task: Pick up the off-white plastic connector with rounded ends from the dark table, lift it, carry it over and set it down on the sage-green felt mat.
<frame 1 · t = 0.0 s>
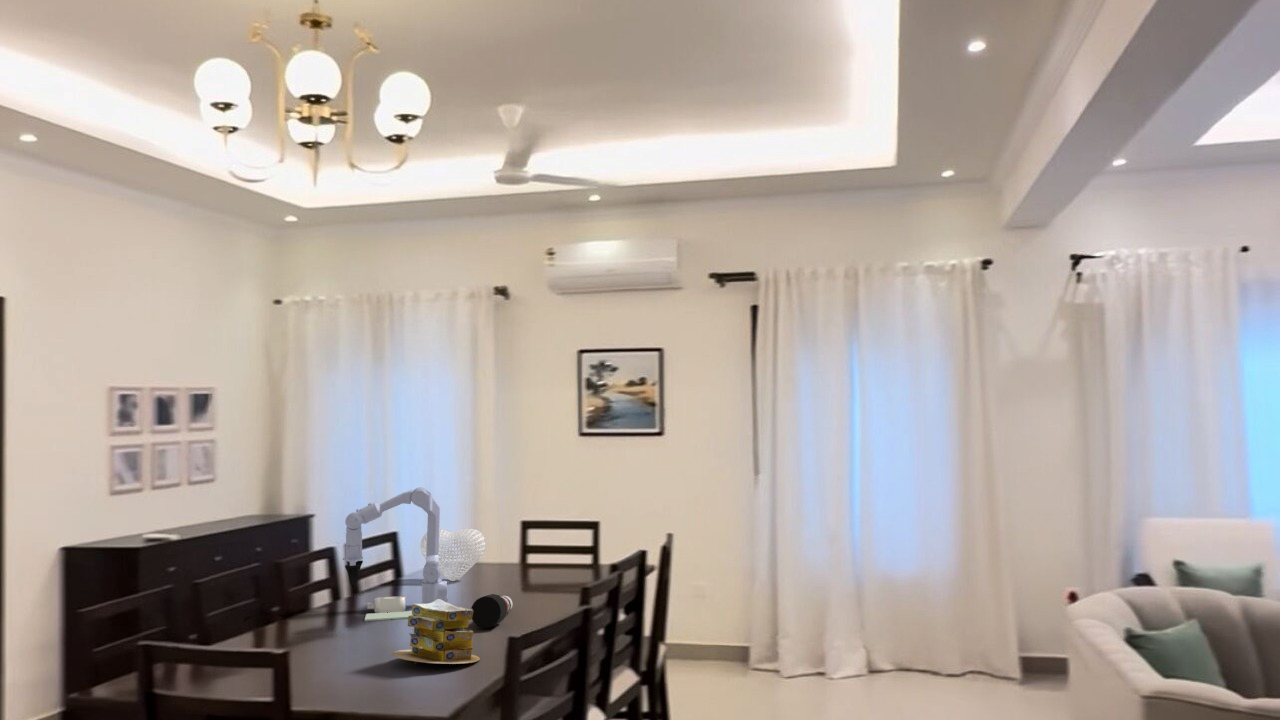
hand: (354, 582, 357), 10 cm above the table, tool pointing down, fingers open, 7 cm apart
connector: (390, 611, 353), on the table
heart: (453, 581, 416), on the table
stacked yellow boxes: (436, 663, 278), on the table
mat: (388, 616, 343), on the table
dark bottle: (497, 620, 335), on the table
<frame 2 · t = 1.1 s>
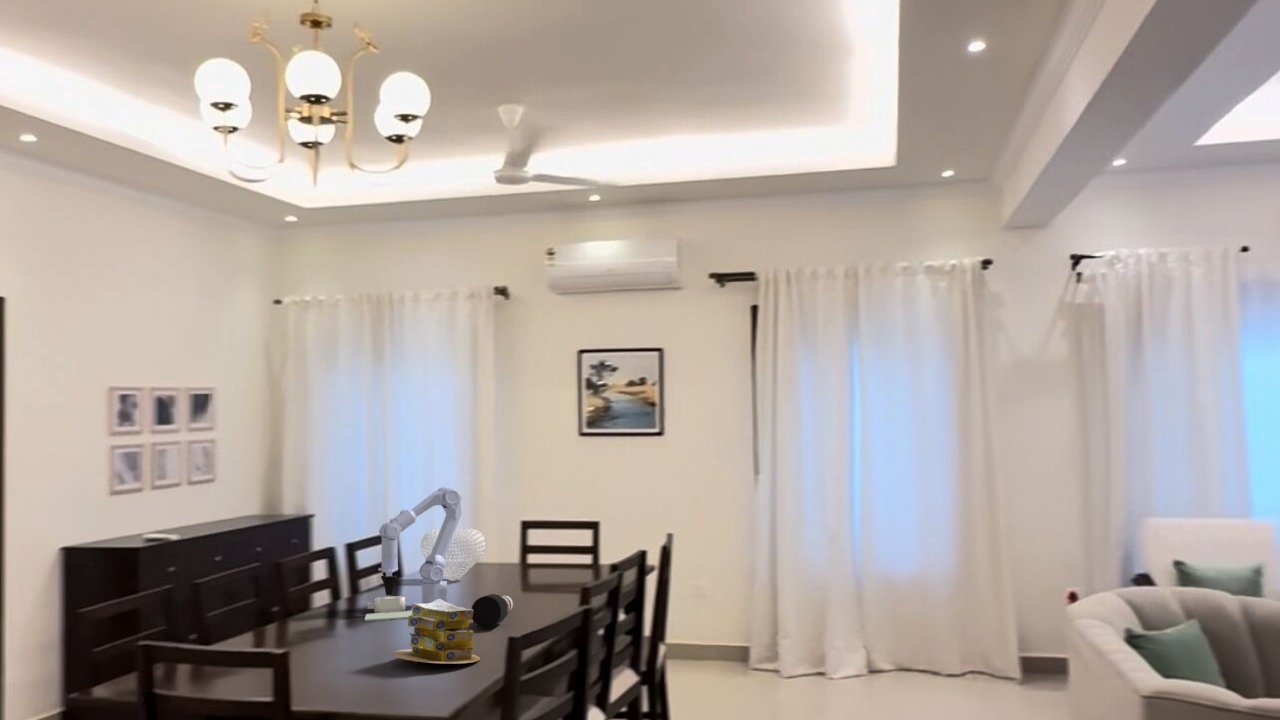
hand: (389, 593, 353), 6 cm above the table, tool pointing down, fingers open, 7 cm apart
nothing on the table moved.
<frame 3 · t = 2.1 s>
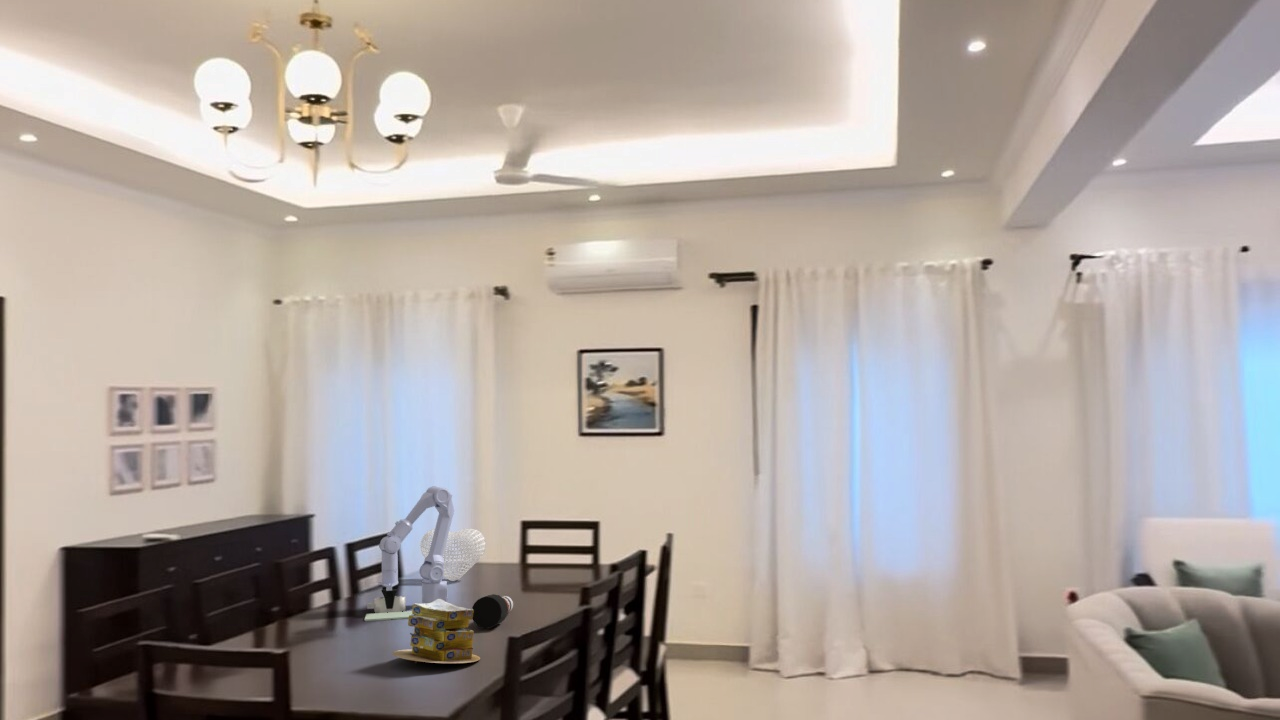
hand: (389, 607, 353), 1 cm above the table, tool pointing down, fingers closed on connector, 4 cm apart
connector: (390, 611, 353), on the table, touching gripper
everything else where it was.
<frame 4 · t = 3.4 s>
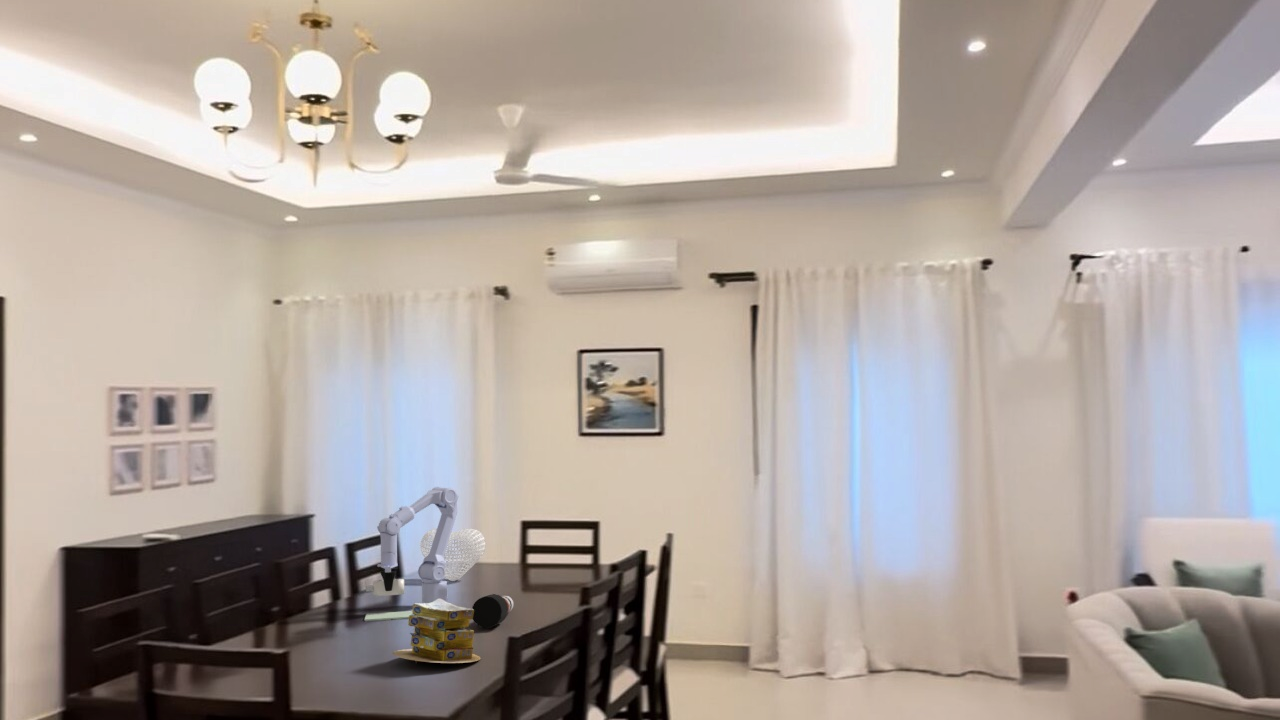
hand: (389, 589, 350), 8 cm above the table, tool pointing down, fingers closed on connector, 4 cm apart
connector: (388, 594, 349), point 7 cm above the table, touching gripper
everything else where it was.
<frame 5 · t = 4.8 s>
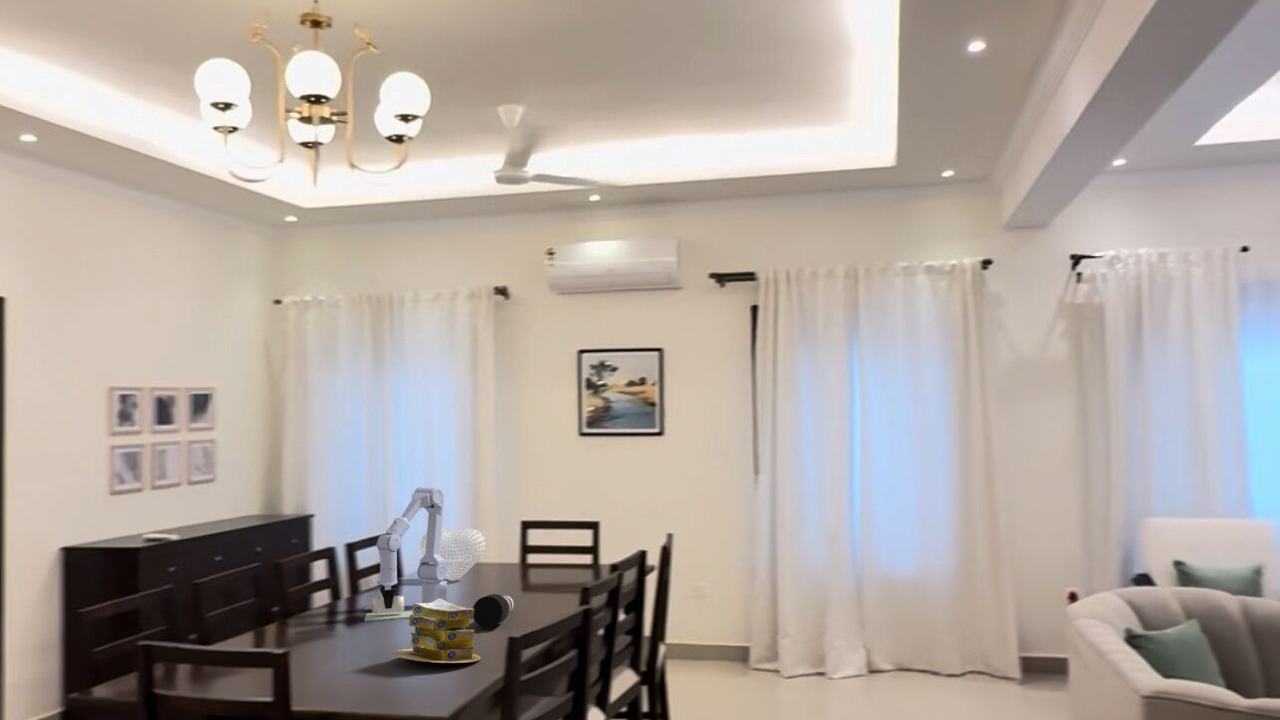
hand: (388, 607, 343), 3 cm above the table, tool pointing down, fingers closed on connector, 4 cm apart
connector: (388, 611, 343), point 2 cm above the table, touching gripper
everything else where it was.
when the fingers open (3 cm above the table, at t = 5.0 s): connector drops 1 cm, resting on mat.
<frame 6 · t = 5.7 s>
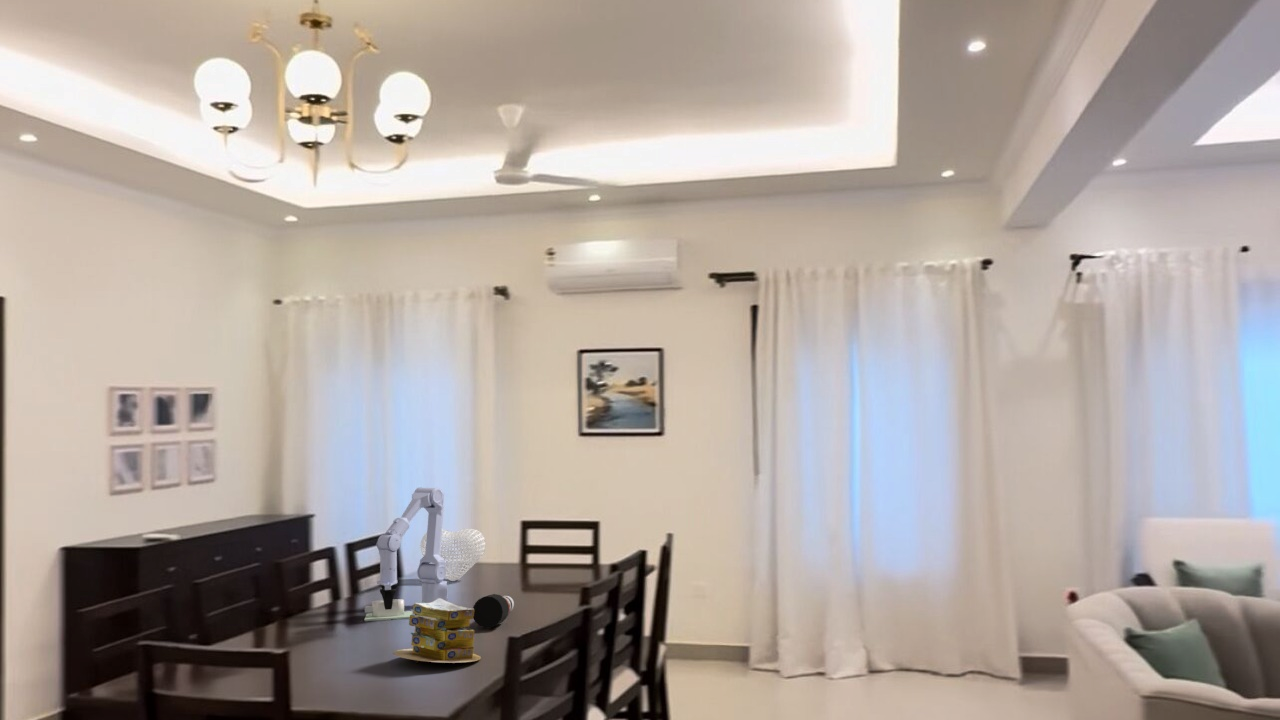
hand: (388, 607, 343), 3 cm above the table, tool pointing down, fingers open, 7 cm apart
connector: (388, 615, 343), point 1 cm above the table, touching mat
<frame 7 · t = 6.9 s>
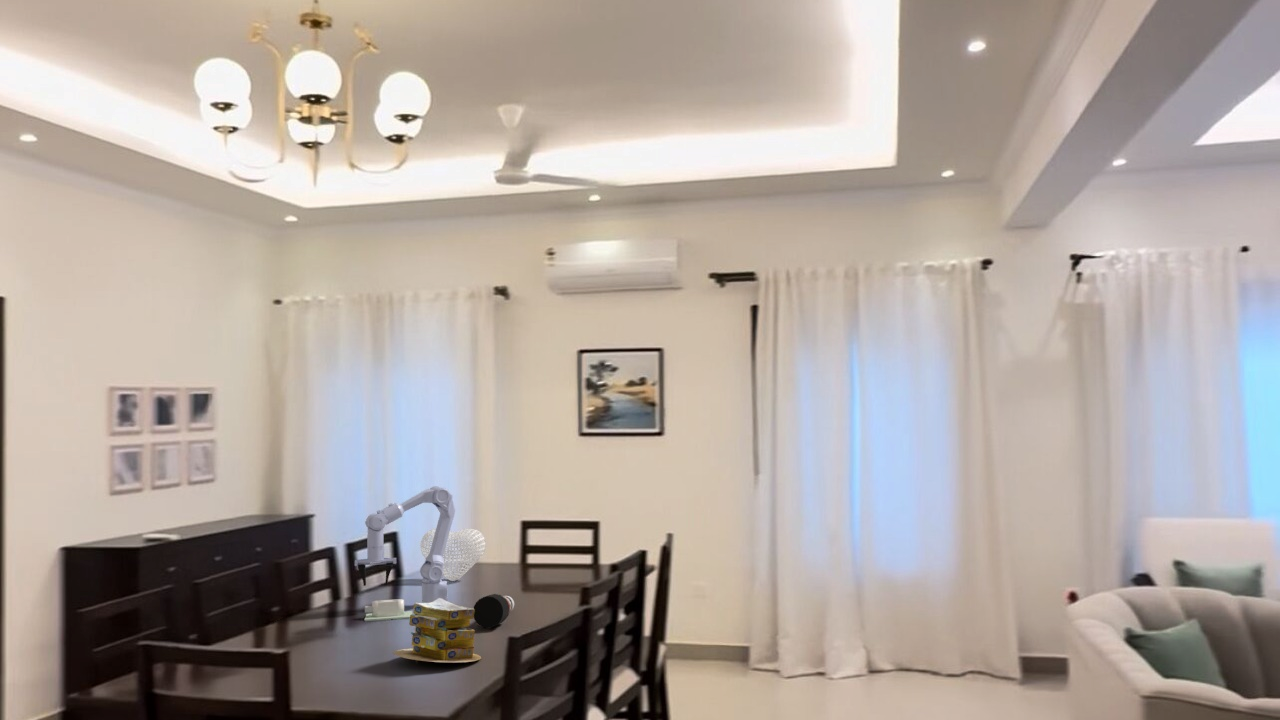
hand: (375, 584, 352), 10 cm above the table, tool pointing down, fingers open, 7 cm apart
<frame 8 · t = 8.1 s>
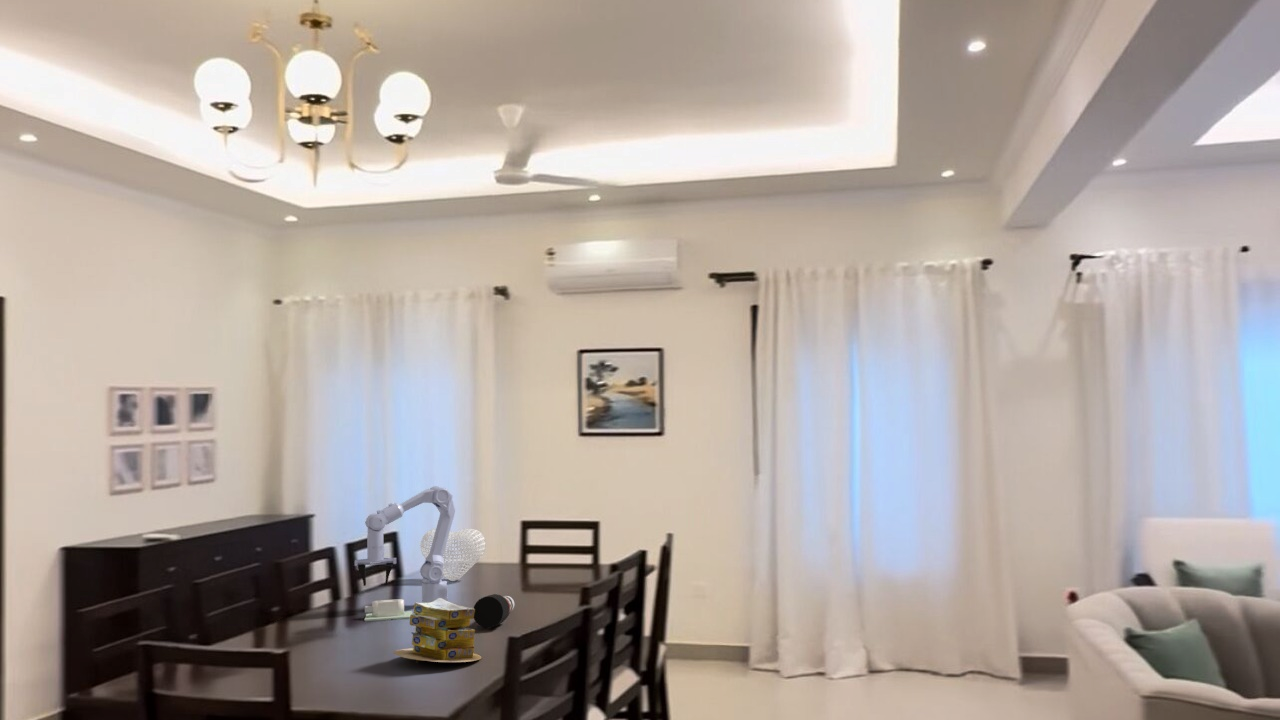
hand: (375, 584, 352), 10 cm above the table, tool pointing down, fingers open, 7 cm apart
at the end: connector inside the target area on the mat (0.2 cm from its centre), point 0.6 cm above the mat's base; connector tilted 0°; the gripper is holding nothing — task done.
